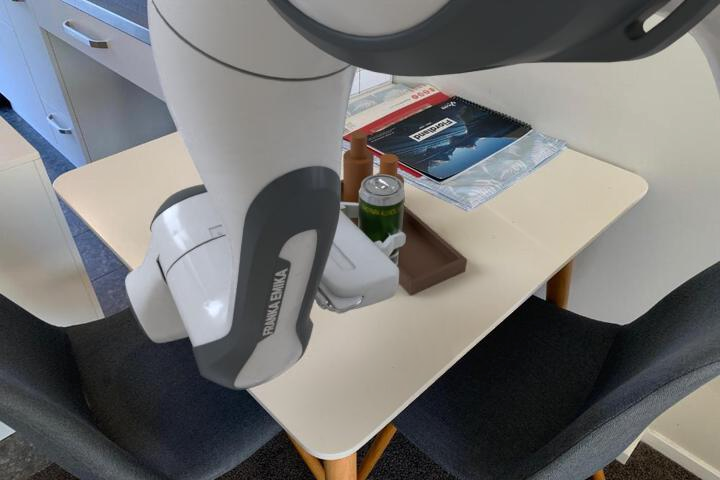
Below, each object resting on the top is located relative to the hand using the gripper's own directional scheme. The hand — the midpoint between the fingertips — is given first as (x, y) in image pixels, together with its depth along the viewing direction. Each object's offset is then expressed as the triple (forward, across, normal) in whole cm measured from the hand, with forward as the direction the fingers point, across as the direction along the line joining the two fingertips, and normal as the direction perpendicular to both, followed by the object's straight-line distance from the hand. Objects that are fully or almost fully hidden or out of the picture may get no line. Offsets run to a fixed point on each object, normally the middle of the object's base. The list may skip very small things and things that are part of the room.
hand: (386, 221), depth 64 cm
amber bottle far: (+11, +25, +16) cm, 32 cm away
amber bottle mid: (+11, +16, +16) cm, 25 cm away
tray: (+11, +16, +17) cm, 26 cm away
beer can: (-1, 0, +7) cm, 7 cm away
